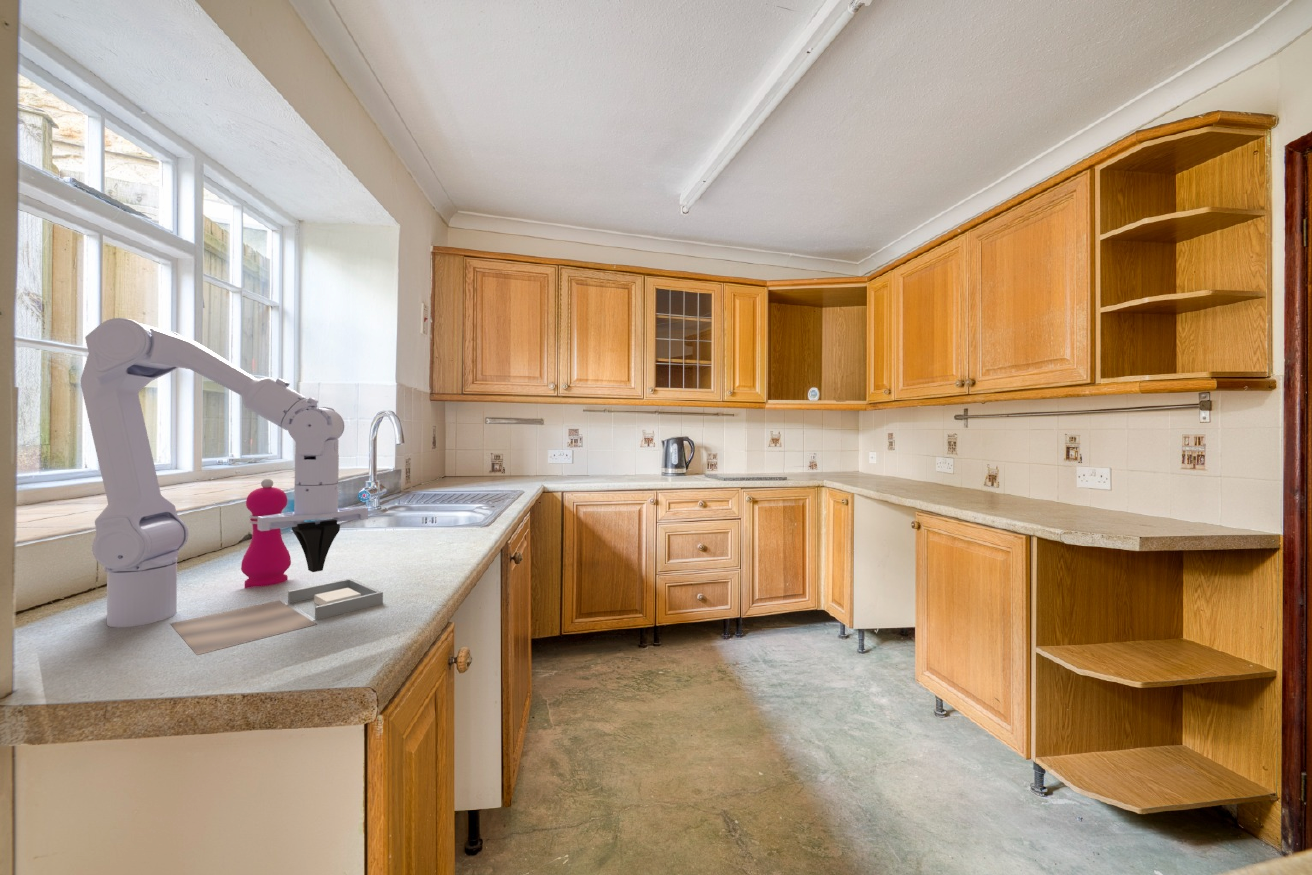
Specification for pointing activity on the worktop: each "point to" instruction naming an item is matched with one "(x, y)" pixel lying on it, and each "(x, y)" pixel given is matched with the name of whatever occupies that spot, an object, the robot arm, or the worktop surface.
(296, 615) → the board
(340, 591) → the tile
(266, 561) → the pepper mill
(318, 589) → the box
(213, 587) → the worktop surface
